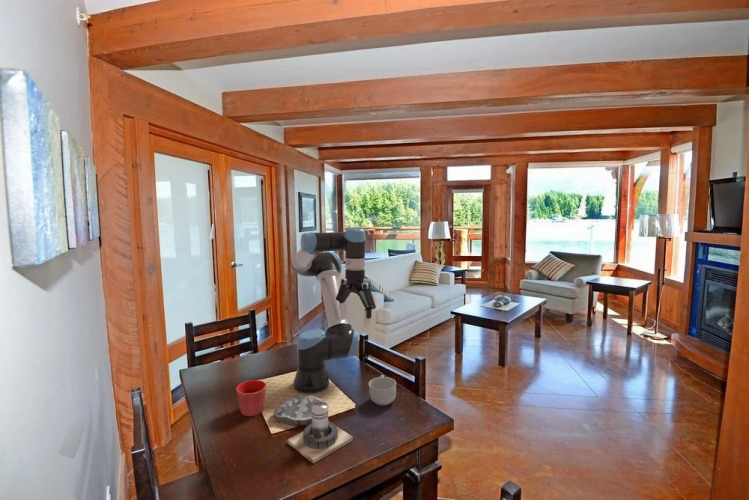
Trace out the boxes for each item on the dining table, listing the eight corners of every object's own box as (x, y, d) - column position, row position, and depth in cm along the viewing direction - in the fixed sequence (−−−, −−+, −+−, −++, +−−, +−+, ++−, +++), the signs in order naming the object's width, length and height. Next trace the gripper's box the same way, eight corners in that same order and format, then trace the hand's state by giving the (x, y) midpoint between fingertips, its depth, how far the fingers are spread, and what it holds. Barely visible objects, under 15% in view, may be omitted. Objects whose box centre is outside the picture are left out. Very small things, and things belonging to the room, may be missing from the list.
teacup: (393, 410, 141) (393, 390, 140) (365, 407, 143) (365, 387, 142) (398, 392, 155) (398, 374, 154) (373, 389, 157) (373, 371, 156)
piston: (308, 438, 121) (308, 406, 120) (321, 431, 125) (320, 400, 124) (319, 444, 118) (319, 411, 117) (331, 437, 122) (331, 405, 121)
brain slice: (330, 402, 147) (330, 395, 146) (326, 428, 130) (326, 419, 130) (280, 402, 146) (280, 395, 146) (269, 428, 129) (269, 420, 129)
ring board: (287, 442, 121) (287, 432, 120) (326, 422, 132) (326, 413, 132) (313, 463, 111) (313, 452, 111) (353, 440, 123) (353, 429, 122)
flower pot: (272, 406, 143) (272, 382, 142) (254, 421, 133) (254, 395, 132) (249, 401, 147) (249, 377, 146) (230, 415, 136) (229, 390, 135)
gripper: (327, 266, 149) (327, 317, 151) (371, 274, 132) (370, 332, 134) (341, 264, 154) (341, 313, 157) (385, 271, 137) (384, 327, 139)
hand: (354, 322), depth 145 cm, fingers open, 13 cm apart
